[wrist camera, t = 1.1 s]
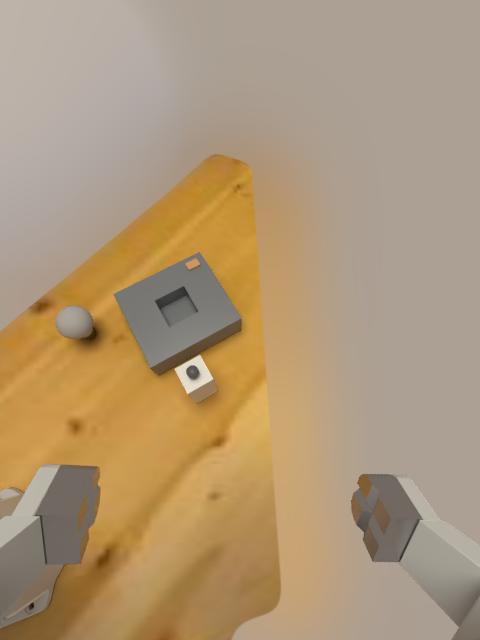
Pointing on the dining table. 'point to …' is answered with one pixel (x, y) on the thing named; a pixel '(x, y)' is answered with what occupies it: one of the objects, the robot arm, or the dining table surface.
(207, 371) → the plug
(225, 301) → the socket housing
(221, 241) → the dining table surface
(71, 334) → the light bulb
